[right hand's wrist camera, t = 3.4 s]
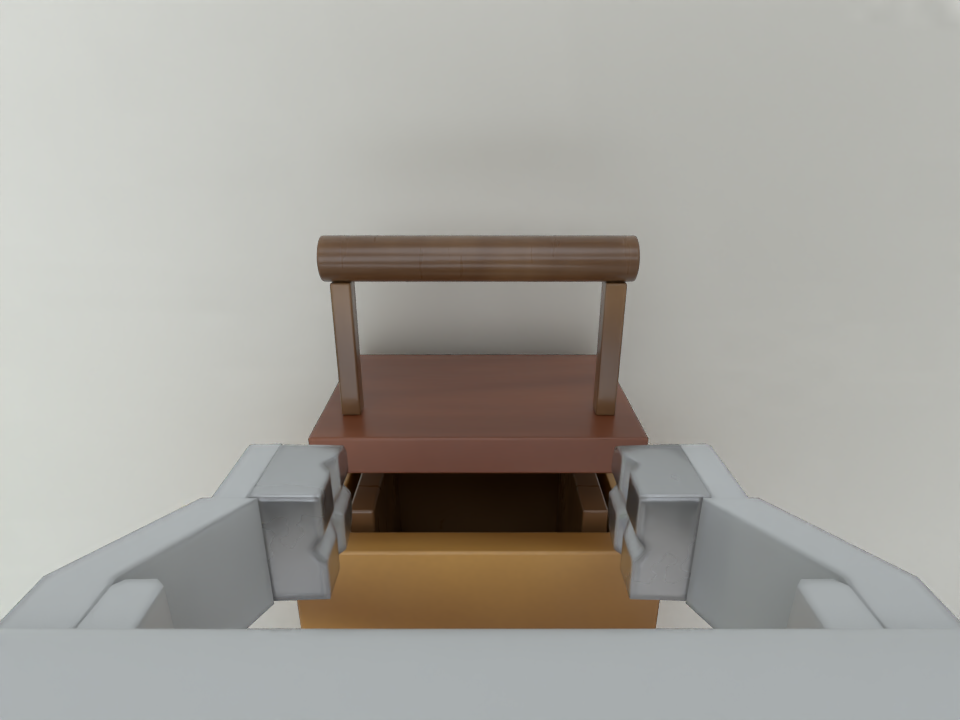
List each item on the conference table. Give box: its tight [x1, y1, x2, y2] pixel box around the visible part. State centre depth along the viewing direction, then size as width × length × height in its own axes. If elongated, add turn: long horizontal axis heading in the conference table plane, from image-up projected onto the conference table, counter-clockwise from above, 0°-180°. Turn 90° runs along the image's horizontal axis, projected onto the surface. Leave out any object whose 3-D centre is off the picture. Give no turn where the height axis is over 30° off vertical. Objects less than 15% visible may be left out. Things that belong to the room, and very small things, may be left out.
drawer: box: [308, 236, 648, 532], centre depth 22 cm, size 21×10×7 cm, turn 0°
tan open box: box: [297, 473, 660, 629], centre depth 25 cm, size 17×11×9 cm, turn 0°
